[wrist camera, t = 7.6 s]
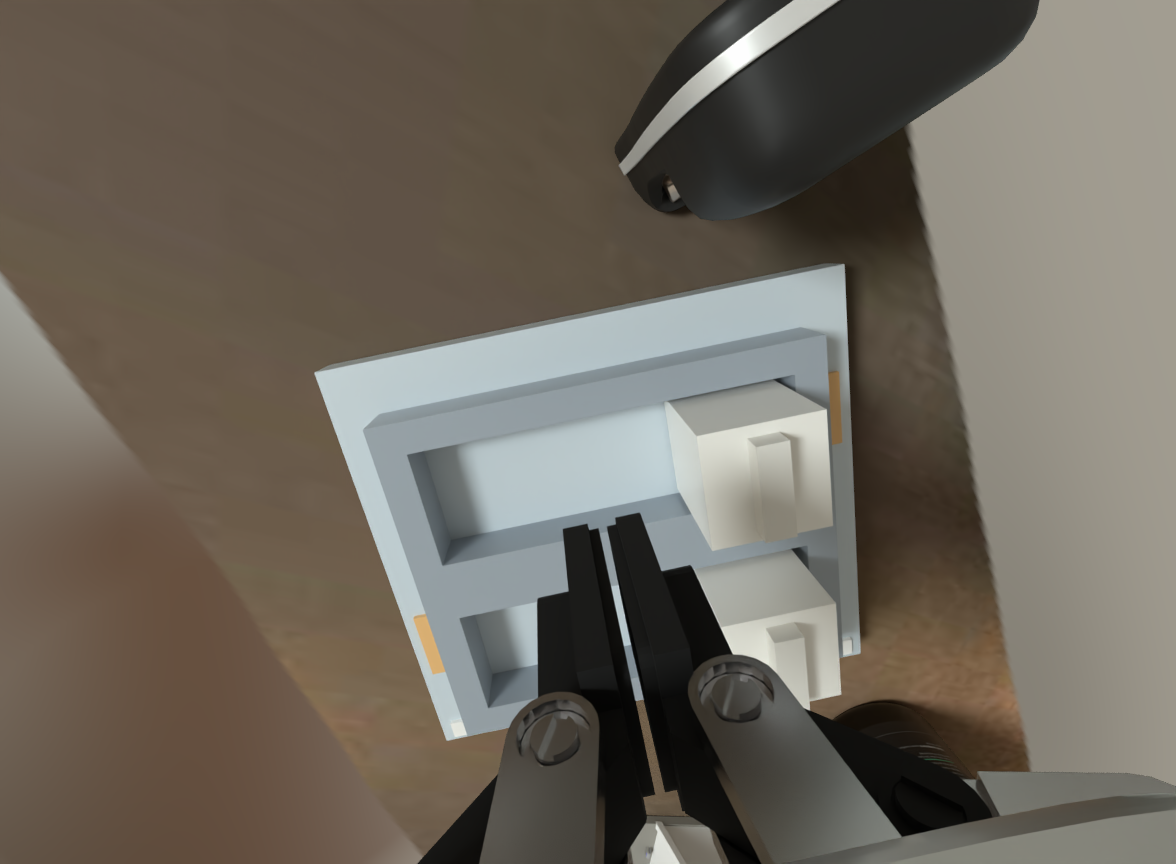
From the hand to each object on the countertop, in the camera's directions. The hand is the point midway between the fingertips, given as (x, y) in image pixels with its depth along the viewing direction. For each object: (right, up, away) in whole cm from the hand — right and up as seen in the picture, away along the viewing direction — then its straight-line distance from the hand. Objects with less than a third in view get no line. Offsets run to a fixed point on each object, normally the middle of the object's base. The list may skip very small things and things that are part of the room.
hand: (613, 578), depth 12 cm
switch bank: (+1, -1, +13) cm, 13 cm away
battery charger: (+4, +14, +9) cm, 17 cm away
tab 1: (+5, +3, +10) cm, 12 cm away
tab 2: (+6, -3, +13) cm, 14 cm away
